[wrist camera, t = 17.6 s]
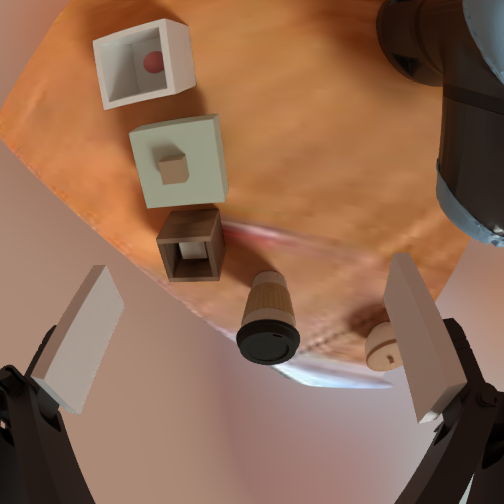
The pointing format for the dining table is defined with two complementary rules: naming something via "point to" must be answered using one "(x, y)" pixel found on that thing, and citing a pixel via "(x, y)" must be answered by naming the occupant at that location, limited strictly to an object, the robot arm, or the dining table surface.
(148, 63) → the ball
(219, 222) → the walnut box
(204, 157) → the lid
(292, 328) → the coffee cup
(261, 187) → the dining table surface
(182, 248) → the ivory block
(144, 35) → the planter
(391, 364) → the lidded jar
